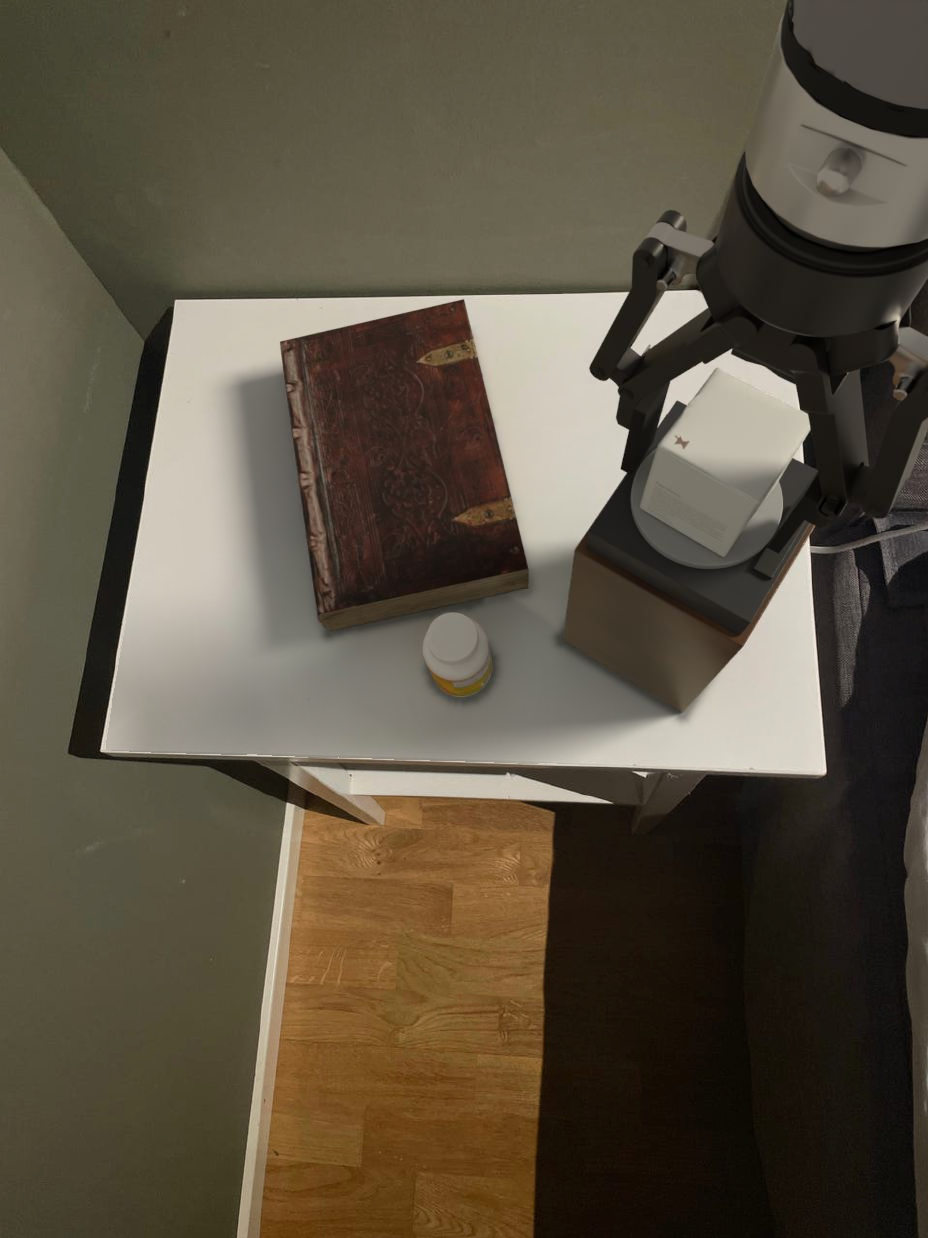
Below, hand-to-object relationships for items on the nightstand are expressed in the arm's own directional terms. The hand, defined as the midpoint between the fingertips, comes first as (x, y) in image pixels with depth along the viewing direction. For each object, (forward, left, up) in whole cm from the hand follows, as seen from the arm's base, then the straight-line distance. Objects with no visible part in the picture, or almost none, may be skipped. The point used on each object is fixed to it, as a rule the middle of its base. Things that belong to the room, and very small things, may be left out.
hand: (708, 493), depth 47 cm
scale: (-1, 0, -4) cm, 4 cm away
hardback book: (+27, 0, -24) cm, 36 cm away
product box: (0, 0, -1) cm, 1 cm away
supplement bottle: (+11, +13, -24) cm, 29 cm away
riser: (-1, 0, -24) cm, 24 cm away
